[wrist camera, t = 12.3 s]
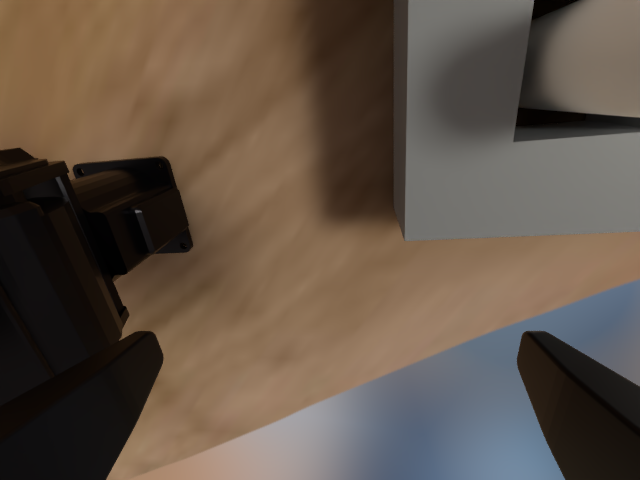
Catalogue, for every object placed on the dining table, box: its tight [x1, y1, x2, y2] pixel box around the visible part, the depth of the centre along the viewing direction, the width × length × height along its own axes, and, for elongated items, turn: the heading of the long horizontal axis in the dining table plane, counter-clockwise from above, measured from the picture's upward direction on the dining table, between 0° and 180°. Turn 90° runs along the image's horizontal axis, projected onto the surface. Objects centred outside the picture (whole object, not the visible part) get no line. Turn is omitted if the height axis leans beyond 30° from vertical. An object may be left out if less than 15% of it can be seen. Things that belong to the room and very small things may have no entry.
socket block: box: [394, 0, 640, 241], centre depth 13 cm, size 14×14×5 cm
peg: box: [518, 0, 640, 118], centre depth 11 cm, size 4×4×10 cm
